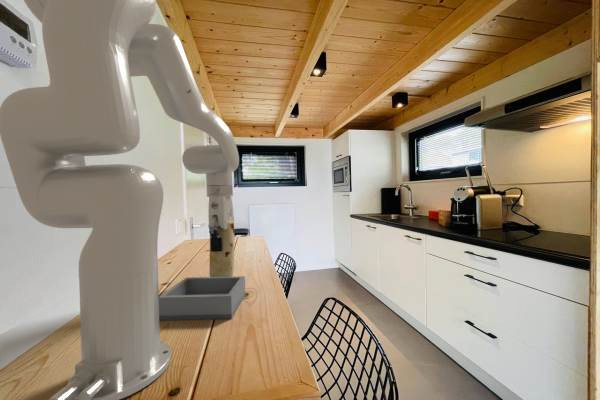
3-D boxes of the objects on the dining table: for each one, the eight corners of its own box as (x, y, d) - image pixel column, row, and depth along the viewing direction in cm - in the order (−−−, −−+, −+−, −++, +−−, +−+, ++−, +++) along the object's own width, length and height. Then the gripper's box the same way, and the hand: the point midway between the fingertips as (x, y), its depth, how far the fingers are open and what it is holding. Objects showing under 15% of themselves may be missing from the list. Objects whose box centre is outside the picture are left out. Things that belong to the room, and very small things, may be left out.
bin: (231, 318, 52) (231, 295, 52) (158, 320, 52) (157, 297, 52) (245, 294, 65) (244, 276, 65) (186, 295, 65) (186, 277, 65)
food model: (239, 285, 71) (240, 218, 73) (218, 290, 67) (219, 218, 68) (224, 279, 78) (225, 218, 80) (203, 283, 73) (205, 218, 75)
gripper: (223, 191, 64) (225, 254, 65) (239, 191, 81) (241, 240, 82) (195, 192, 64) (197, 255, 65) (217, 191, 81) (219, 241, 82)
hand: (222, 247), depth 73 cm, fingers open, 9 cm apart
